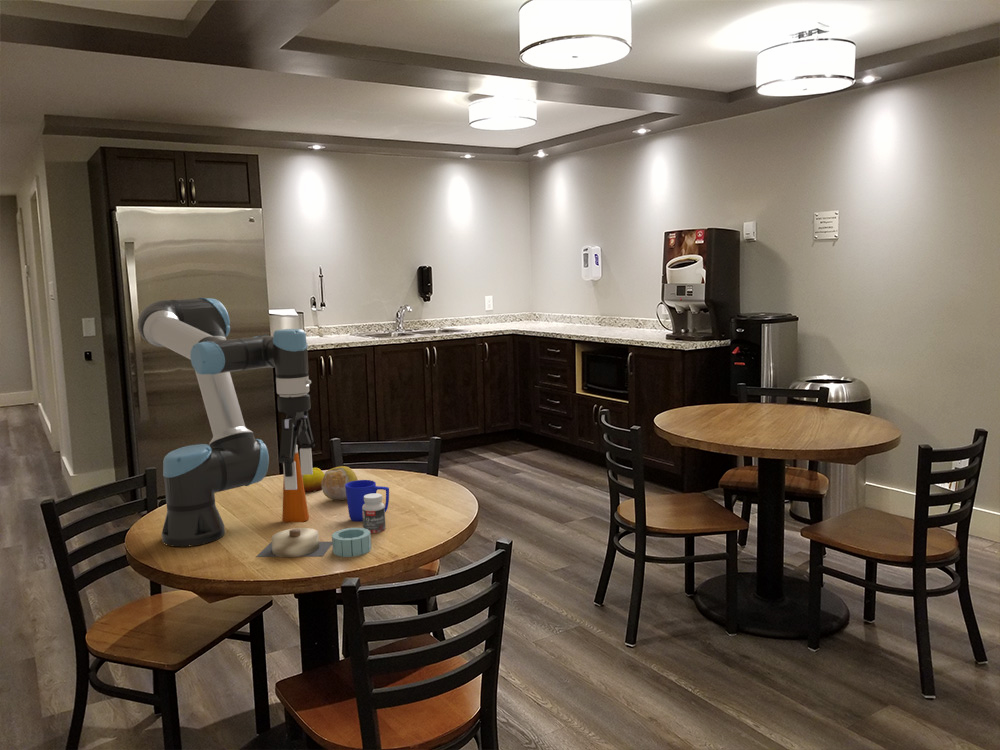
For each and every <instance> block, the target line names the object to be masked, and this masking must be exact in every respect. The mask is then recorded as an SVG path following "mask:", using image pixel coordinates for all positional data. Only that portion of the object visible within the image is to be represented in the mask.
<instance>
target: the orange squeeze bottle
mask: <svg viewBox="0 0 1000 750" xmlns="http://www.w3.org/2000/svg"><path fill="white" fill-rule="evenodd" d="M298 447H299V446H298V444H296V450H295V456H294V461H295V462H296V477H297V489H296V490H285V485H284V480H283V482H282V483H283V484H282V485H283V486H282V487H283V488H282V492H283V493H282V519H281V521H282V522H283V523H305V522H307V521H309V519H310V515H309V510H308V503H307V497H306V493H305V490H304V485H303V479H302V475H301V462H300V454H299V450H298ZM287 457H288V456H287Z"/></svg>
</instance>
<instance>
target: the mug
mask: <svg viewBox="0 0 1000 750" xmlns="http://www.w3.org/2000/svg"><path fill="white" fill-rule="evenodd" d="M345 489H346V496H347V500H346V503H347V509H348V517H349V519H350V520H351V521H352V522H356V523H357V522H360V523H361V522H362V523H363V515H362V506H363V505H364V504H365V502H364V496H365V495H367V494H372V493H378V492H377V491H378V490H382V491H385V503H384V506H385V513H387V510H388V508H389V501H390V500H389V499H390V487H387V486H381V485H380V486H379V485H377V483H376V481H374V480H371V479H359V480H357V481H352V482H349V483H347V484H346V485H345Z"/></svg>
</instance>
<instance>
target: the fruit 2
mask: <svg viewBox="0 0 1000 750" xmlns="http://www.w3.org/2000/svg"><path fill="white" fill-rule="evenodd" d="M324 474H325V475H324V477H323V480H322V489H321V490H322V493H323V494H324V495H325V497H326V498H328V499H330V500H332V501H338V500H340V501H347V496H346V489H345V485H346V484H347V483H349V482H352V481H357V480H358V476H357V474H356V472H355V471H354V470H353V469H352V468H350V467H349V466H345V465H344V466H343V465H341V466H336V467H333V468H330V469H328V470H327V471H326V472H325V473H324Z"/></svg>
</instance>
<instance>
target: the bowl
mask: <svg viewBox="0 0 1000 750" xmlns="http://www.w3.org/2000/svg"><path fill="white" fill-rule="evenodd" d="M371 534H372V533H370V531H369V530H368V529H364V528H363V527H347V528H342V529H339V530H336V531H335V532H333V533H332V535H331V542H332V545H331V547H332V553H333V554H334V555H335V556H336V557H337V556H338V557H342V558H352V557H358V556H359V557H360V556H362V555H365V554H368V553H369V552H370V551H371V550H372V542H371V541H372V535H371Z"/></svg>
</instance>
